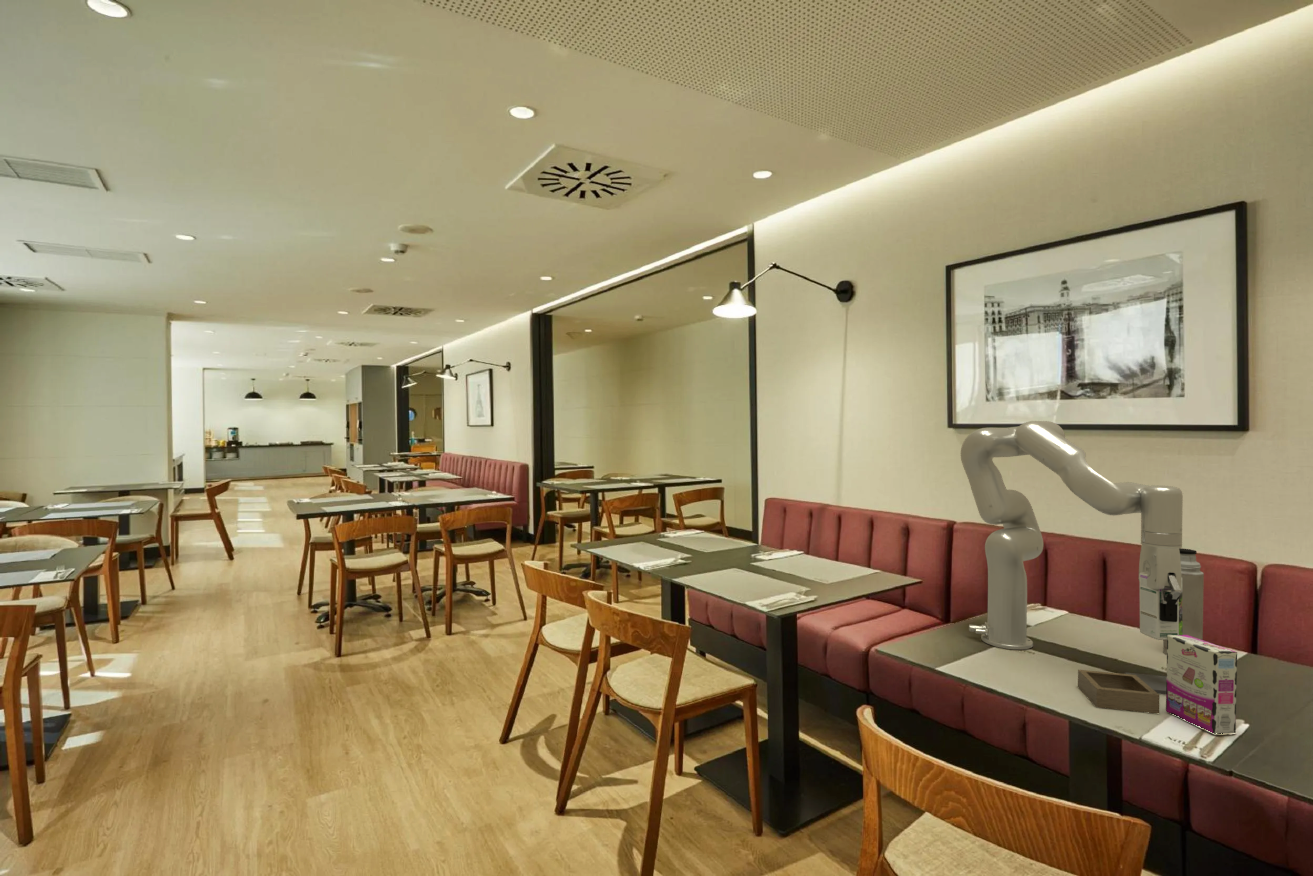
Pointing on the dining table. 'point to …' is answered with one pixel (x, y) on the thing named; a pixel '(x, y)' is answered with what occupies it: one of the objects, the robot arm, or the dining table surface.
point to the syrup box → (1156, 612)
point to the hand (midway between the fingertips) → (1160, 616)
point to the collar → (1118, 691)
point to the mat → (1153, 682)
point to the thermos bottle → (1191, 595)
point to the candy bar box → (1201, 683)
